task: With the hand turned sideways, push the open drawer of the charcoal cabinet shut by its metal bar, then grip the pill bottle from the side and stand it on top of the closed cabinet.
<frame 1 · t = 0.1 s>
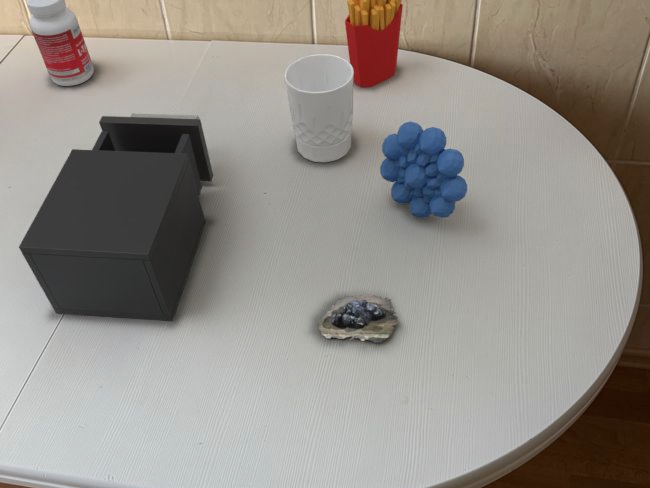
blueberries: (357, 324, 70), on the table
cabinet: (134, 266, 77), on the table
grapes: (425, 212, 80), on the table
drawer: (148, 172, 79), point 5 cm above the table, slide at 6.0 cm
pill bottle: (73, 76, 100), on the table
french fries: (375, 76, 97), on the table
white cup: (324, 147, 88), on the table
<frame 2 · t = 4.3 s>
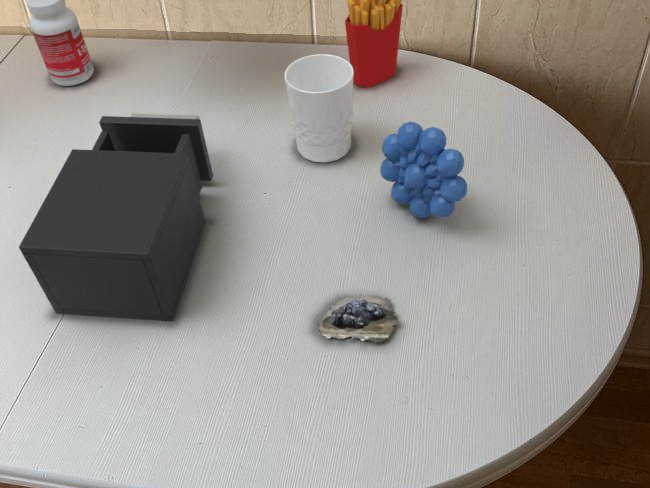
nothing on the table moved.
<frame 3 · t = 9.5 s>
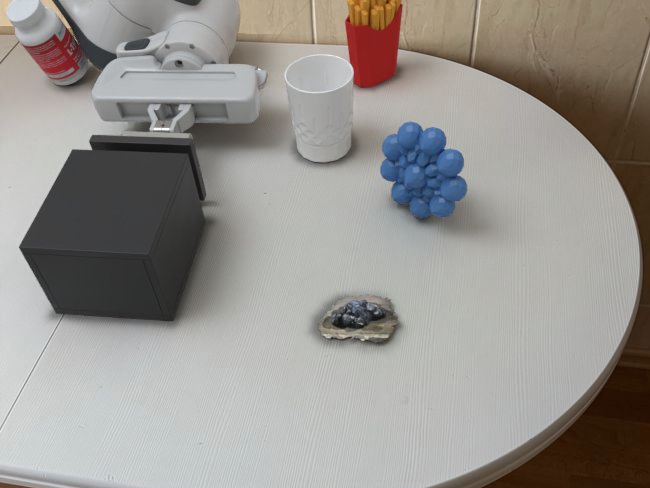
hand: (163, 136, 81), 6 cm above the table, tool horizontal, fingers closed
drawer: (139, 192, 77), point 5 cm above the table, slide at 2.6 cm, touching gripper
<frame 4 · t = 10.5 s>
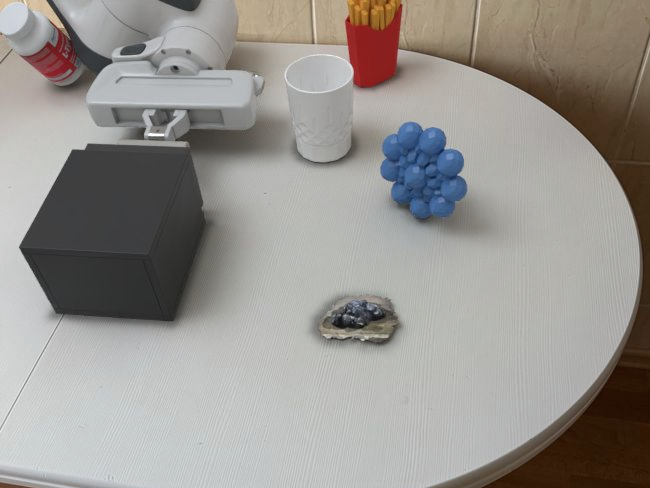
hand: (157, 142, 80), 6 cm above the table, tool horizontal, fingers closed
drawer: (135, 201, 76), point 5 cm above the table, slide at 1.0 cm, touching gripper
pill bottle: (68, 68, 99), point 1 cm above the table, touching arm
everything else where it was.
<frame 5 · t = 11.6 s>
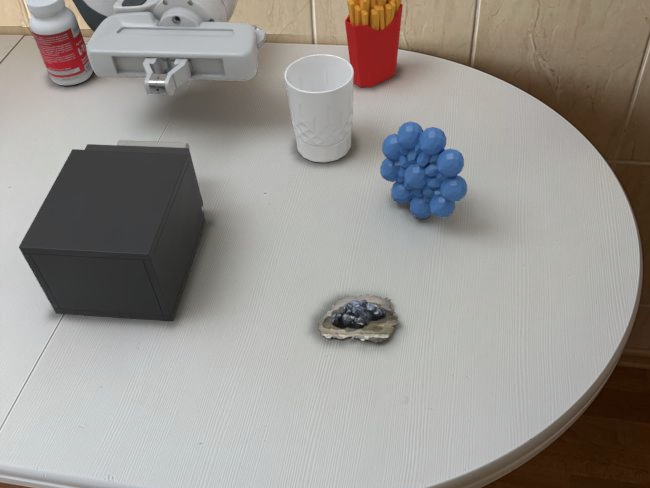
hand: (157, 89, 80), 10 cm above the table, tool horizontal, fingers closed
drawer: (135, 202, 76), point 5 cm above the table, slide at 0.9 cm
pill bottle: (73, 76, 100), on the table
everything else where it was.
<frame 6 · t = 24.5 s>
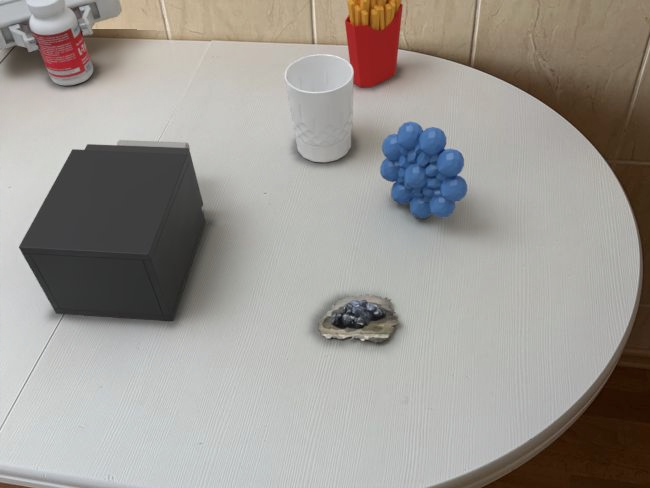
hand: (59, 38, 95), 6 cm above the table, tool horizontal, fingers closed on pill bottle, 6 cm apart
pill bottle: (73, 76, 100), on the table, touching gripper
everything else where it was.
when the fingers open (16 cm above the table, at t = 36.8 s): pill bottle stays where it is, resting on cabinet.
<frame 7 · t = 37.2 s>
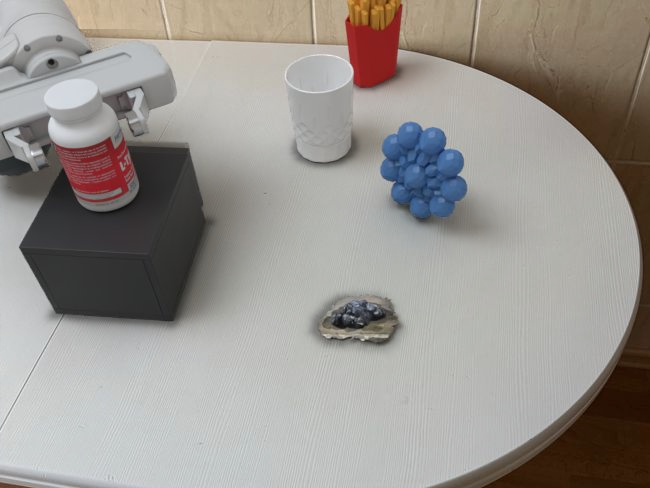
hand: (90, 146, 64), 16 cm above the table, tool horizontal, fingers open, 8 cm apart
pill bottle: (110, 194, 69), point 9 cm above the table, touching cabinet
everything else where it was.
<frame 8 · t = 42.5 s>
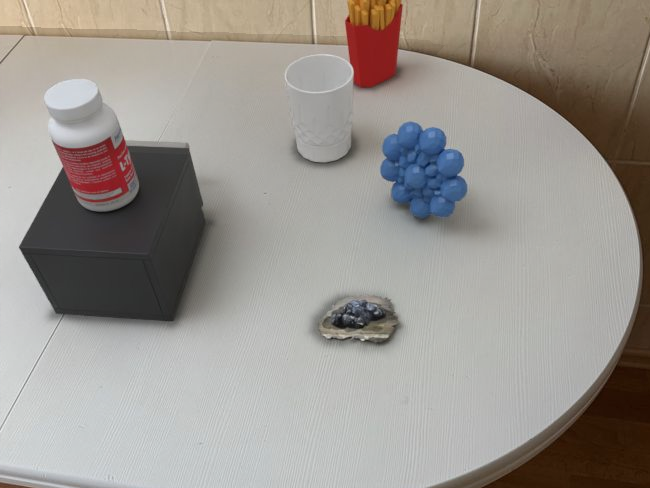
nothing on the table moved.
at the end: drawer slide at 0.9 cm; pill bottle inside the target area on the cabinet (0.7 cm from its centre), point 9.4 cm above the cabinet's base; pill bottle tilted 0° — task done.
